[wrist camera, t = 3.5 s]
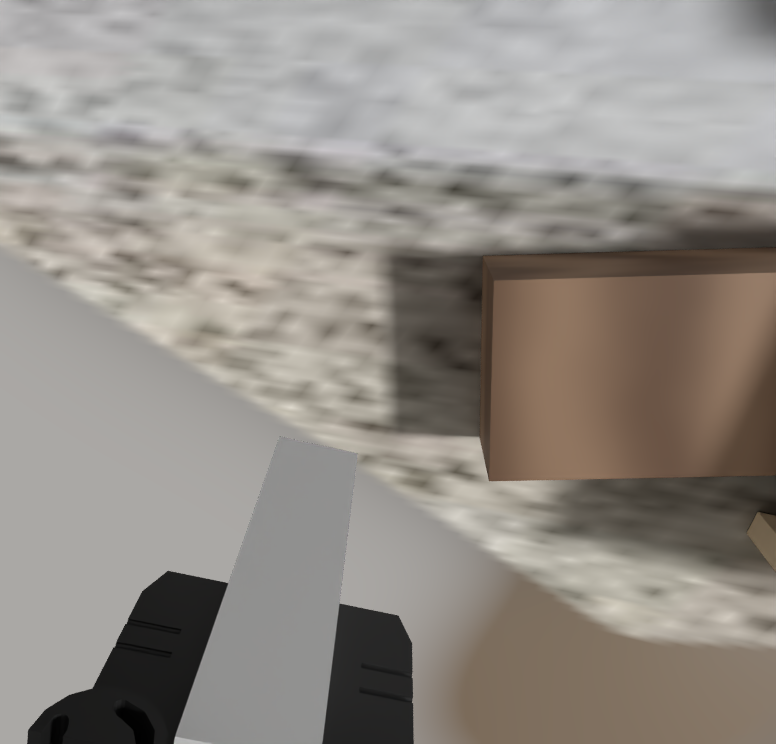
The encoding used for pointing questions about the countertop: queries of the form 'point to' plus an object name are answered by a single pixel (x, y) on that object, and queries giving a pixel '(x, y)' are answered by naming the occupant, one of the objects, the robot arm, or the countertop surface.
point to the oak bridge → (764, 536)
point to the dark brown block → (629, 364)
